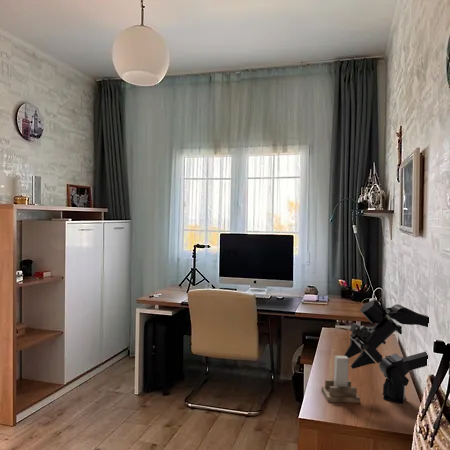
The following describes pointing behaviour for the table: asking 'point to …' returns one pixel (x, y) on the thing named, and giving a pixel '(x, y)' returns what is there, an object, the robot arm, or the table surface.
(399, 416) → the table surface
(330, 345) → the table surface
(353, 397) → the beige rail channel
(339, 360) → the beige rectangular block
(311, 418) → the table surface
